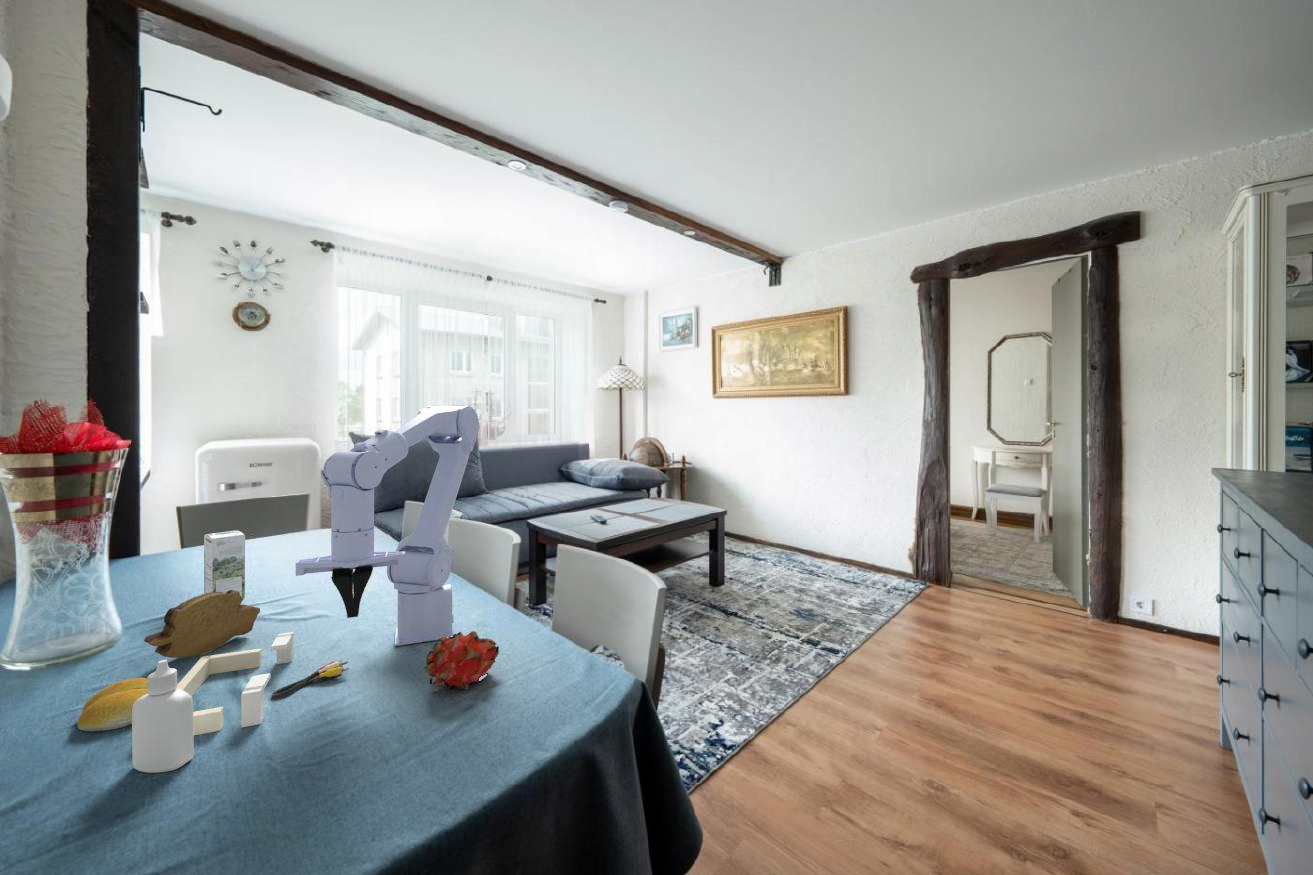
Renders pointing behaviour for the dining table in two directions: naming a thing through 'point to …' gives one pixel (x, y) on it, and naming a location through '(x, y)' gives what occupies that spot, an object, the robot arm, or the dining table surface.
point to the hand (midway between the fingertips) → (353, 615)
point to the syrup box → (224, 562)
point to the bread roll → (112, 705)
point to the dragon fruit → (460, 660)
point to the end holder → (211, 665)
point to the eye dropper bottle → (162, 724)
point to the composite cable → (313, 678)
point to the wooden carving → (203, 624)
